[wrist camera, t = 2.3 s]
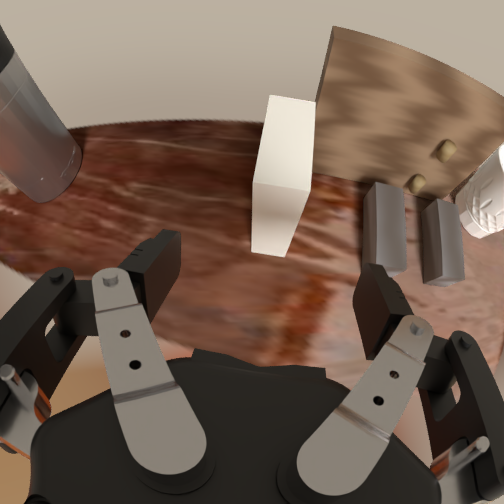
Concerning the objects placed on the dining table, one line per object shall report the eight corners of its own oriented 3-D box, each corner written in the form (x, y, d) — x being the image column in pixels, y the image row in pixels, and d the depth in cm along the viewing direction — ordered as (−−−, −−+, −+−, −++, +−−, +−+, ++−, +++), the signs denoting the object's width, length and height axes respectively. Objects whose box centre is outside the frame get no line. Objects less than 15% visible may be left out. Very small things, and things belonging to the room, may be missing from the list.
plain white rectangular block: (251, 251, 26) (252, 182, 15) (262, 185, 28) (270, 94, 17) (284, 257, 26) (310, 191, 15) (292, 189, 28) (315, 102, 17)
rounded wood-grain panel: (289, 263, 26) (340, 155, 11) (301, 155, 29) (332, 25, 14) (444, 287, 25) (561, 235, 10) (437, 188, 29) (515, 105, 13)
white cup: (490, 253, 26) (544, 224, 17) (447, 224, 27) (501, 184, 18) (492, 204, 28) (537, 169, 19) (452, 175, 29) (495, 131, 20)
